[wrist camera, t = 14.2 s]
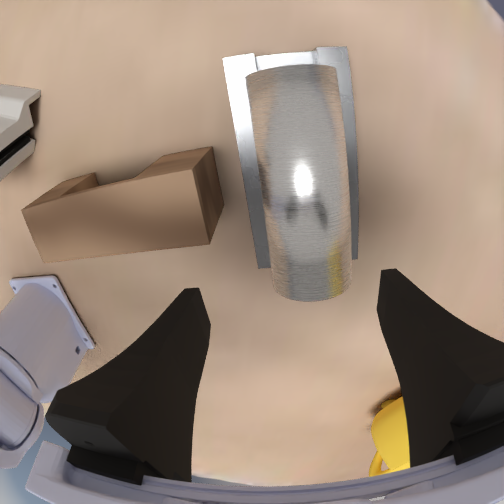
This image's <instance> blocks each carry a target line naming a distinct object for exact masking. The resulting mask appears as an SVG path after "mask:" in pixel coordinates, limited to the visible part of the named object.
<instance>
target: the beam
mask: <svg viewBox="0 0 504 504" xmlns="http://www.w3.org/2000/svg"><path fill="white" fill-rule="evenodd" d="M223 206H224V204H223V199H222V194H221V189H220V184H219V179H218V174H217V169H216V164H215V159H214V154H213V148H212V147H206V148H200V149H195V150H189V151H184V152H179V153H174V154H169V155H164V156H162V157H161V158H160V159H158V160H157V161H156V162H154V163H153V164H152V165H150V166H149V167H148V168H147V169H145V170H144V171H143V172H142V173H140V174H139V175H138V176H137V177H135V178H132V179H128V180H123V181H119V182H115V183H111V184H106V185H102V186H99V185H98V182H97V179H96V176H95V172H94V173H91V174H87V175H84V176H80V177H77V178H73V179H70V180H67V181H64V182H62V183H60V184H58V185H57V186H55V187H54V188H52V189H51V190H49V191H48V192H46V193H45V194H43V195H42V196H41V197H39V198H38V199H36V200H35V201H33V202H32V203H31V204H29V205H28V206H26V207H25V208H24V209H22V210H21V211H22V213H23V216H24V219H25V221H26V224H27V226H28V229H29V231H30V233H31V236H32V238H33V240H34V243H35V245H36V247H37V249H38V252H39V254H40V256H41V258H42V260H43V262H44V263H50V262H58V261H67V260H75V259H84V258H92V257H101V256H109V255H118V254H127V253H136V252H144V251H153V250H162V249H172V248H181V247H190V246H199V245H209V244H210V242H211V239H212V236H213V234H214V231H215V228H216V225H217V223H218V220H219V217H220V214H221V212H222V209H223Z"/></svg>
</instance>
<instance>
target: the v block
mask: <svg viewBox="0 0 504 504" xmlns="http://www.w3.org/2000/svg"><path fill="white" fill-rule="evenodd" d="M223 64H224V70H225V76H226V81H227V87H228V93H229V99H230V104H231V110H232V116H233V122H234V128H235V133H236V139H237V145H238V151H239V157H240V163H241V168H242V174H243V180H244V186H245V192H246V198H247V204H248V210H249V215H250V221H251V227H252V233H253V239H254V245H255V251H256V257H257V263H258V269H260V268H271V262H270V254H269V247H268V239H267V231H266V224H265V216H264V209H263V201H262V194H261V186H260V179H259V172H258V165H257V158H256V151H255V144H254V137H253V130H252V123H251V116H250V109H249V103H248V96H247V89H246V83H245V77H246V76H247V75H249V74H251V73H254V72H257V71H260V70H264V69H268V68H273V67H279V66H287V65H298V64H319V65H328V66H332V67H334V68H336V71H337V78H338V84H339V91H340V99H341V106H342V114H343V123H344V132H345V142H346V152H347V164H348V178H349V194H350V215H351V253H352V260H353V259H358V222H359V201H358V161H357V141H356V126H355V113H354V102H353V92H352V82H351V74H350V66H349V58H348V51H347V47H316V48H315V49H314V50H313V51H309V52H295V53H283V54H274V55H265V56H257V57H256V56H255V55H254V53H252V54H245V55H238V56H232V57H227V58H223Z"/></svg>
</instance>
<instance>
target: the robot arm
mask: <svg viewBox="0 0 504 504" xmlns="http://www.w3.org/2000/svg"><path fill="white" fill-rule="evenodd" d="M9 283H10V285H11V287H12V289H13V291H14V293H15V294H16V295H15V296H14V297H13V298H12V300H11V301H10V302H9V303H8V304H7V306H6V307H5V308H4V309H3V310H2V312H1V313H0V468H1V469H2V468H15V467H17V466H18V464H19V463H20V461H21V459H22V458H23V456H24V454H25V453H26V452H27V450H28V449H29V448H30V447H32V445H33V444H34V443H35V442H36V440H37V439H38V437H39V435H40V433H41V430H42V428H43V424H44V409H43V406H42V404H41V403H49V402H51V404H50V407H49V409H48V411H47V413H46V415H45V417H46V420H47V422H48V423H49V425H50V426H51V427H52V428H53V429H54V430H55V431H56V432H57V433H59V434H60V435H61V436H62V437H63V438H64V439H66V440H67V441H68V442H69V443H70V444H71V445H72V446H71V449H70V451H69V450H67V449H65V448H63V447H61V446H58V445H56V444H53V443H50V442H47V441H43V442H42V445H41V447H40V449H39V452H38V454H37V457H36V459H35V462H34V464H33V467H32V470H31V472H30V475H29V478H28V481H27V483H26V486H25V489H26V490H27V491H29V492H31V493H33V494H34V495H36V496H38V497H40V498H42V499H43V500H46V501H47V502H49V503H51V504H495V503H497V502H499V501H501V500H503V499H504V342H501V341H499V340H496V339H494V338H492V337H490V336H488V335H486V334H484V333H482V332H480V331H478V330H477V329H475V328H473V327H471V326H469V325H468V324H466V323H465V322H463V321H461V320H460V319H458V318H457V317H455V316H454V315H452V314H451V313H449V312H448V311H447V310H445V309H444V308H443V307H441V306H440V305H439V304H437V303H436V302H435V301H434V300H432V299H431V298H430V297H429V296H427V295H426V294H425V293H424V292H423V291H421V290H420V289H419V288H418V287H417V286H416V285H414V284H413V283H412V282H411V281H410V280H409V279H408V278H406V277H405V276H404V275H403V274H402V273H401V272H399V271H398V270H397V269H396V268H395V269H387V270H381V278H380V287H379V296H378V304H377V313H378V317H379V322H380V326H381V330H382V333H383V336H384V339H385V341H386V344H387V347H388V350H389V352H390V355H391V358H392V361H393V364H394V366H395V369H396V372H397V375H398V379H399V382H400V387H401V392H402V397H403V402H404V408H405V414H406V421H407V430H408V440H409V455H410V468H408V469H404V470H400V471H396V472H391V473H387V474H382V475H377V476H372V477H366V478H360V479H354V480H347V481H340V482H332V483H323V484H312V485H298V486H272V487H251V486H248V487H247V486H224V485H211V484H200V483H191V457H192V436H193V424H194V414H195V405H196V398H197V392H198V388H199V384H200V380H201V376H202V372H203V368H204V364H205V359H206V355H207V351H208V347H209V339H210V328H211V324H210V321H209V318H208V314H207V311H206V308H205V305H204V302H203V299H202V296H201V292H200V289H199V288H187V289H184V290H183V291H182V292H181V293H180V294H179V295H178V297H177V298H176V299H175V300H174V301H173V302H172V303H171V304H170V306H169V307H168V308H167V309H166V310H165V311H164V312H163V313H162V314H161V316H160V317H159V318H158V319H157V320H156V321H155V322H154V323H153V324H152V325H151V326H150V327H149V328H148V329H147V330H146V331H145V332H144V333H143V334H142V335H141V336H140V337H139V338H138V339H137V340H136V341H135V342H134V343H133V344H131V345H130V346H129V347H128V348H127V349H125V350H124V351H123V352H122V353H120V354H119V355H118V356H116V357H115V358H114V359H112V360H111V361H109V362H108V363H107V364H105V365H104V366H102V367H101V368H99V369H98V370H96V371H94V372H93V373H91V374H89V375H88V376H86V377H84V378H82V379H80V380H78V381H76V382H74V383H72V384H70V382H71V380H72V378H73V376H74V374H75V372H76V370H77V369H78V367H79V365H80V363H81V361H82V359H83V357H84V355H85V353H86V351H87V350H88V349H94V347H95V344H94V342H93V341H92V339H91V338H90V336H89V334H88V333H87V331H86V330H85V328H84V326H83V325H82V323H81V321H80V319H79V318H78V316H77V314H76V313H75V311H74V309H73V307H72V305H71V304H70V302H69V300H68V298H67V296H66V294H65V293H64V291H63V289H62V287H61V285H60V283H59V281H58V279H57V278H56V277H55V276H53V275H51V276H39V277H27V278H15V279H11V280H10V281H9ZM69 384H70V385H69ZM381 496H385V498H384V499H383V500H376V501H370V500H369V499H371V498H377V497H381Z"/></svg>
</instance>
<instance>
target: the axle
mask: <svg viewBox="0 0 504 504" xmlns="http://www.w3.org/2000/svg"><path fill="white" fill-rule="evenodd" d="M245 83H246V89H247V96H248V103H249V109H250V116H251V123H252V130H253V137H254V144H255V151H256V158H257V165H258V172H259V179H260V186H261V194H262V201H263V209H264V216H265V224H266V231H267V239H268V247H269V254H270V262H271V270H272V278H273V286H274V289H275V290H276V292H277V293H279V294H280V295H282V296H283V297H286V298H288V299H292V300H296V301H321V300H326V299H330V298H333V297H335V296H338V295H340V294H342V293H343V292H344V291H346V290H347V289H348V288H349V286H350V284H351V281H352V253H351V215H350V194H349V178H348V164H347V152H346V142H345V132H344V123H343V114H342V106H341V99H340V91H339V84H338V78H337V71H336V68H334V67H332V66H328V65H319V64H298V65H287V66H279V67H273V68H268V69H264V70H260V71H257V72H254V73H251V74H249V75H247V76H246V77H245Z"/></svg>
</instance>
